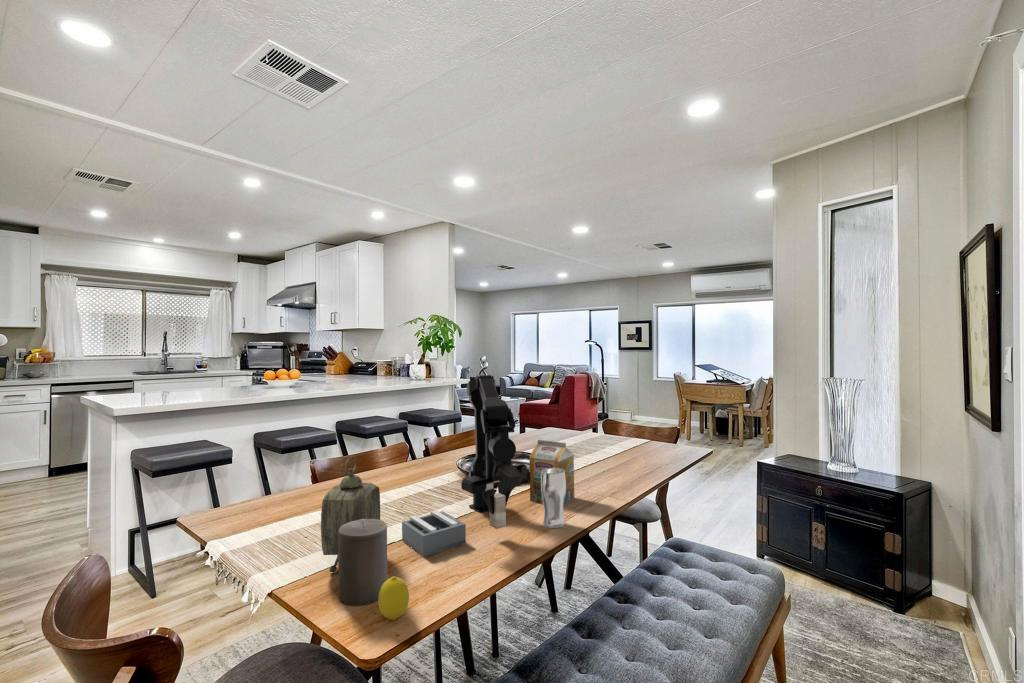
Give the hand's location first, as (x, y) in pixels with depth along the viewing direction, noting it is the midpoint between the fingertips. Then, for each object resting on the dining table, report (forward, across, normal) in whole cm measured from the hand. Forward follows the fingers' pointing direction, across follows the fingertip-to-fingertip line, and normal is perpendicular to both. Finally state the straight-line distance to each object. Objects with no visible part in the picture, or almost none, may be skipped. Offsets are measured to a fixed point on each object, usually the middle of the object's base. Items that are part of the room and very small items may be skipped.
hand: (497, 512), depth 122 cm
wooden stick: (+4, 0, 0) cm, 4 cm away
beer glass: (+7, +18, -2) cm, 20 cm away
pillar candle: (+7, -37, -4) cm, 38 cm away
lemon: (+7, -36, -17) cm, 40 cm away
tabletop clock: (+7, -34, +11) cm, 36 cm away
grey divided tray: (+7, -14, +9) cm, 18 cm away
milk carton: (+7, +32, +14) cm, 36 cm away
